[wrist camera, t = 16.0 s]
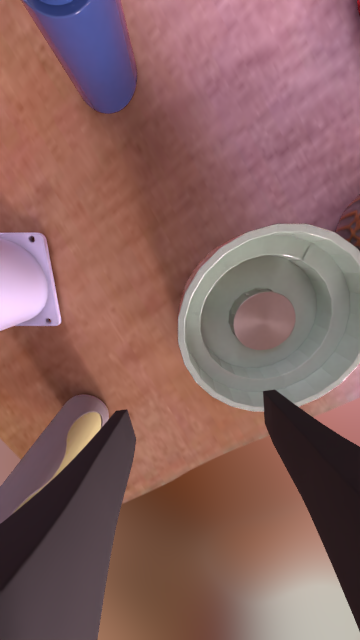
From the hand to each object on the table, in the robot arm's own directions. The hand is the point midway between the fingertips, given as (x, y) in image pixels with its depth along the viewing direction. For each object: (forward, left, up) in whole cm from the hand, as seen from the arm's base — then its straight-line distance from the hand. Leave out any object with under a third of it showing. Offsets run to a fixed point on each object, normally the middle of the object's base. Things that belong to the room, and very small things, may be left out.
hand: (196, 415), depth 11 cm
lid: (+6, +3, -7) cm, 10 cm away
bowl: (+6, +3, -9) cm, 11 cm away
